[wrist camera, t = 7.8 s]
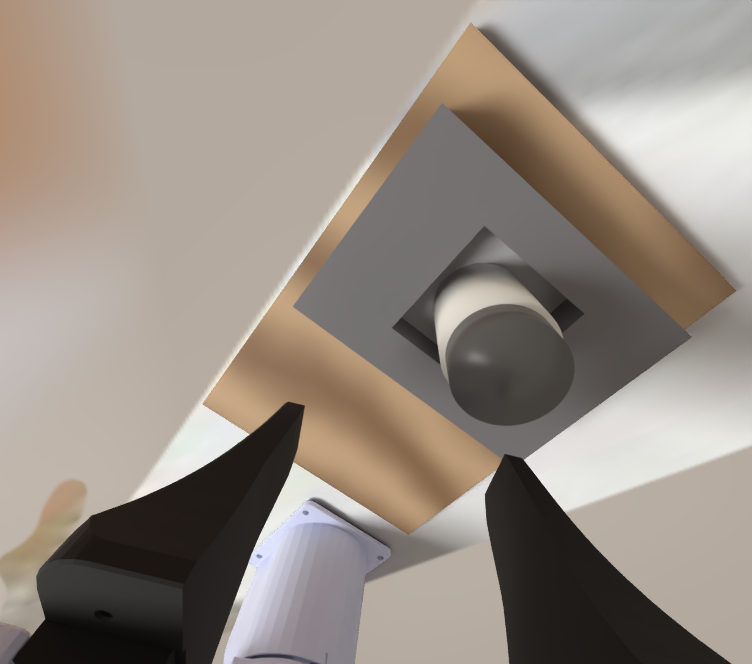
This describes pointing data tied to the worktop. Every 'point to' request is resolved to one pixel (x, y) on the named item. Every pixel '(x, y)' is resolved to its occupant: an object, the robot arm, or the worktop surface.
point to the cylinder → (499, 347)
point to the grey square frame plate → (469, 246)
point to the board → (377, 390)
